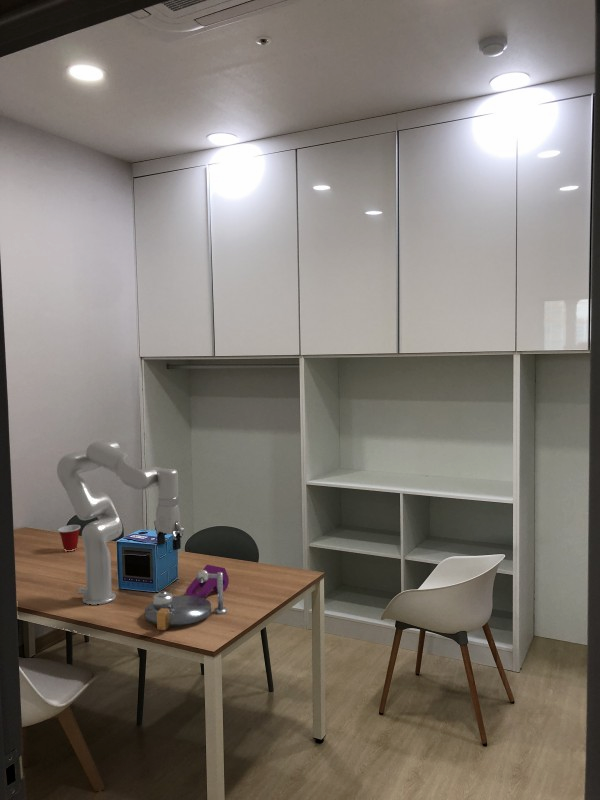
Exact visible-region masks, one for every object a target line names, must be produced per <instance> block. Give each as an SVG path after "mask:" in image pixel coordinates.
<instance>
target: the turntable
mask: <svg viewBox="0 0 600 800" xmlns="http://www.w3.org/2000/svg"><path fill="white" fill-rule="evenodd" d="M172 597H173V606H172V607H171V608H169V609H167V608H161V609H160V610H157V609H154V607H153V601H152V602H151V603H149V604H148V605H147V606H146V607H145V609H144V618H145V620H146V621H148V622H150V623H152V624H153V625H156V627H157V628H156V629H157V630H161V631H166V630H168V629H169V628H170V627H177V626H184V625H191V624H194V623H198V622H200V621H202V620H205V619H206V618H207V617H209V616H210V614H211V612H212V603H211V601H210V600H208V599H206V598H201V597H197V596H187V595H174V596H173V595H172Z"/></svg>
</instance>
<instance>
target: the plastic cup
mask: <svg viewBox="0 0 600 800" xmlns="http://www.w3.org/2000/svg"><path fill="white" fill-rule="evenodd" d="M80 530H81V525H79V524H70V525H65V526H61V527H60V528H58V530H57V531H58V532H59V536H60V538H61V542H62V546H63V550H64V549H66V550H72V549H75V548H77V549H78V543H79V535H80V534H79V533H80Z"/></svg>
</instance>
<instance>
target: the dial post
mask: <svg viewBox="0 0 600 800" xmlns="http://www.w3.org/2000/svg"><path fill="white" fill-rule="evenodd" d="M195 578H197V580H198V581H199V582H201V583H204V582H206V581H207V580H208V578H217V586H218V592H217V607H215V608H214V609H213V612H214V614H216V615H223V614H226V613H228V608H227V607H226V606H224V591H223V573H222V572H218V573H217V574H208V572H207V571H206V570H203V569H201V570H199V571H198V572H197V573H196V577H195Z"/></svg>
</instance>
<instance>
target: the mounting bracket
mask: <svg viewBox="0 0 600 800" xmlns="http://www.w3.org/2000/svg"><path fill="white" fill-rule="evenodd" d="M202 570H206V571H207V572H208V574H217V573H218V572H222V573H223V592H225V591H226V590H227V589H228V586H229V579H230V578H229V575H228V573H227V570H226V568H225V567H222V566H216V565H211V564H206V565H205V567H204V568H203V569H202ZM199 589H200V590H199ZM197 591H198V592H197ZM212 591H214V592H215V593H218V586H217V578H208V580H207V581H206V582H204V583H201V582H199V581H198V580H197V578H196V577H195V578H194V580H193V581H192V582H191V583H190V584H189V585H188V587H187V588H186V590H185V596H197V597H201V598H204V599H206V597H207V596H209V594H210V593H211V592H212Z"/></svg>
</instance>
